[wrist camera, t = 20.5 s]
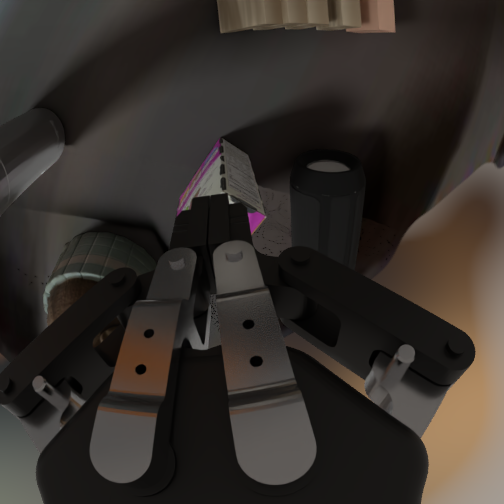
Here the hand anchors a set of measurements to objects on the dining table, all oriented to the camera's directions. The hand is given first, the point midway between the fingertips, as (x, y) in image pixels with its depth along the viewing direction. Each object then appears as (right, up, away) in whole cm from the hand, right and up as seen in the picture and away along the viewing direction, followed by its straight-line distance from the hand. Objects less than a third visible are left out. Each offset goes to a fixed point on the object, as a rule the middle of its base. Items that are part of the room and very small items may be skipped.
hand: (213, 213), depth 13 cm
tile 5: (+14, +28, +14) cm, 35 cm away
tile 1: (-1, +26, +13) cm, 29 cm away
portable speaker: (+12, +3, +34) cm, 36 cm away
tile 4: (+10, +28, +14) cm, 33 cm away
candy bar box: (-4, +9, +27) cm, 29 cm away
